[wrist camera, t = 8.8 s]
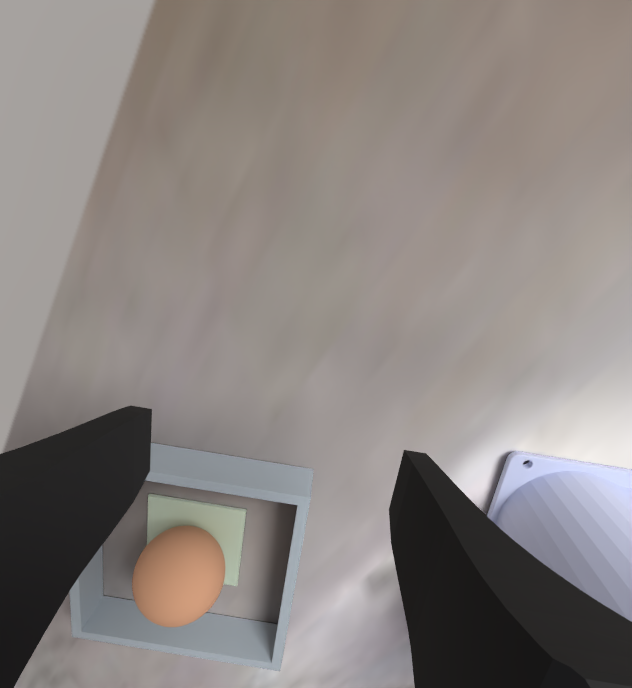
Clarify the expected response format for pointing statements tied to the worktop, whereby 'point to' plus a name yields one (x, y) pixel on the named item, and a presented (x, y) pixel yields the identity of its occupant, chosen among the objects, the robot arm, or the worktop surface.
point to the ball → (178, 576)
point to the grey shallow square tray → (228, 529)
